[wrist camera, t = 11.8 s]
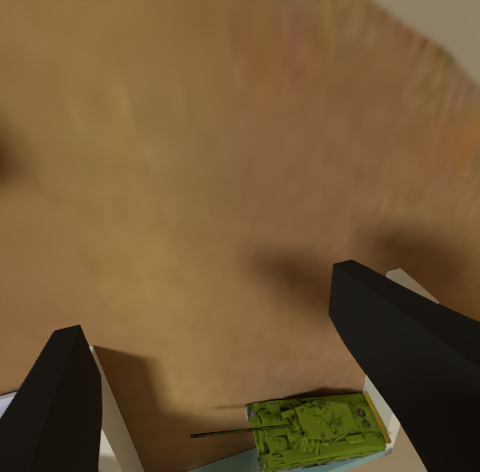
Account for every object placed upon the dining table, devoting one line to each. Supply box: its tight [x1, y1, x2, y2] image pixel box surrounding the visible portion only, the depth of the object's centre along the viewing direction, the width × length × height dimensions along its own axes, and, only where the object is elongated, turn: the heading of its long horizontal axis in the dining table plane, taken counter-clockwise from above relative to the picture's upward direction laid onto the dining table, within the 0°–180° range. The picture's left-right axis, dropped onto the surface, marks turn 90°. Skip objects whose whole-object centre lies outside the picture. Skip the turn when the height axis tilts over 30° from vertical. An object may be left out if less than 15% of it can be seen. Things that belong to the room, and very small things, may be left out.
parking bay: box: [89, 268, 439, 472], centre depth 28 cm, size 24×20×4 cm
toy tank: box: [187, 392, 392, 472], centre depth 29 cm, size 7×19×10 cm
